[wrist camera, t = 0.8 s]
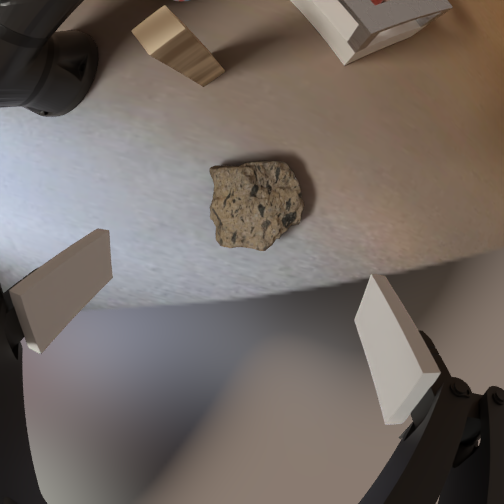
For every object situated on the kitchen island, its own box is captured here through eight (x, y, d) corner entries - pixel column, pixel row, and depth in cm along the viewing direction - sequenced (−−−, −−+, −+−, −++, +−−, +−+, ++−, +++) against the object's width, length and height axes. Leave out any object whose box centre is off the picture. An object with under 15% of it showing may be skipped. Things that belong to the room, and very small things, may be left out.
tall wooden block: (189, 68, 31) (131, 31, 16) (211, 53, 30) (164, 4, 15) (203, 86, 32) (149, 55, 17) (225, 71, 31) (185, 28, 16)
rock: (300, 242, 39) (302, 254, 35) (215, 240, 40) (207, 252, 36) (302, 159, 35) (305, 162, 30) (211, 160, 36) (202, 163, 32)
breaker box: (290, 0, 26) (290, -21, 20) (358, -25, 23) (367, -45, 17) (344, 65, 29) (354, 52, 23) (410, 37, 26) (428, 24, 20)
